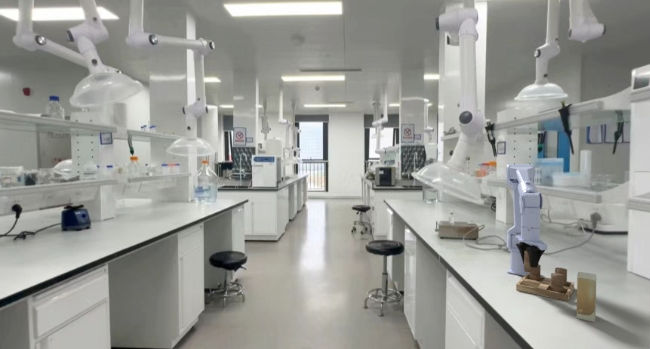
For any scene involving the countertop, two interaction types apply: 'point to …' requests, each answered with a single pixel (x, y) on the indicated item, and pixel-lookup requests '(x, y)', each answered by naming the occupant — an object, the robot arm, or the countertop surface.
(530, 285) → the stool seat
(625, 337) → the countertop surface
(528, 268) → the loose leg
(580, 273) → the skincare box
